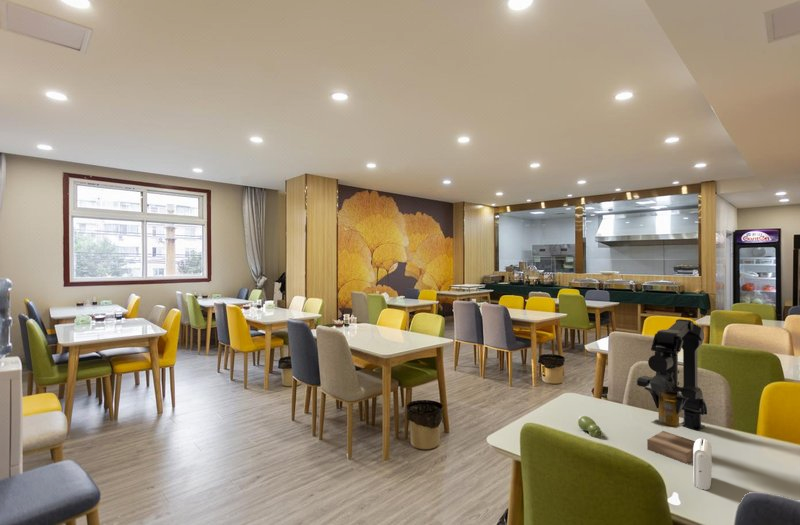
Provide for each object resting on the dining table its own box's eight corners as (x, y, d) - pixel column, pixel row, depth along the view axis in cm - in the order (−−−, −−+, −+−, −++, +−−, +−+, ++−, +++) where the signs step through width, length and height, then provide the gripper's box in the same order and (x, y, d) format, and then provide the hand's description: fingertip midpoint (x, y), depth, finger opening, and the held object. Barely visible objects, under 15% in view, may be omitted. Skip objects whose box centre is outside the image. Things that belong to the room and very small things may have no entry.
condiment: (684, 425, 140) (684, 391, 140) (672, 430, 135) (672, 395, 135) (661, 418, 146) (661, 385, 146) (650, 423, 142) (650, 389, 142)
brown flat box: (663, 441, 147) (663, 430, 146) (701, 454, 137) (701, 443, 137) (647, 450, 140) (647, 439, 140) (686, 465, 130) (686, 453, 130)
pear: (587, 412, 159) (606, 427, 149) (586, 424, 160) (604, 439, 150) (576, 414, 157) (594, 428, 148) (574, 426, 158) (592, 441, 149)
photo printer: (710, 492, 114) (710, 449, 114) (692, 486, 117) (692, 445, 117) (712, 477, 122) (712, 437, 122) (694, 472, 125) (694, 433, 125)
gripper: (628, 364, 144) (628, 407, 144) (688, 377, 128) (687, 425, 128) (644, 360, 150) (644, 401, 150) (702, 372, 134) (702, 417, 134)
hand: (667, 411), depth 141 cm, fingers closed on condiment, 6 cm apart
